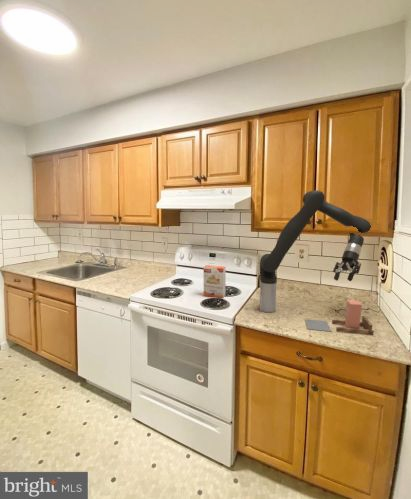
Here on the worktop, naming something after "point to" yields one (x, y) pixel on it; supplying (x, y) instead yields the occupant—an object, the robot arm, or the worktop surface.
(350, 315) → the red block
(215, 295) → the cracker box
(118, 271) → the worktop surface
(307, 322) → the mat
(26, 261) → the worktop surface
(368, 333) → the frame
